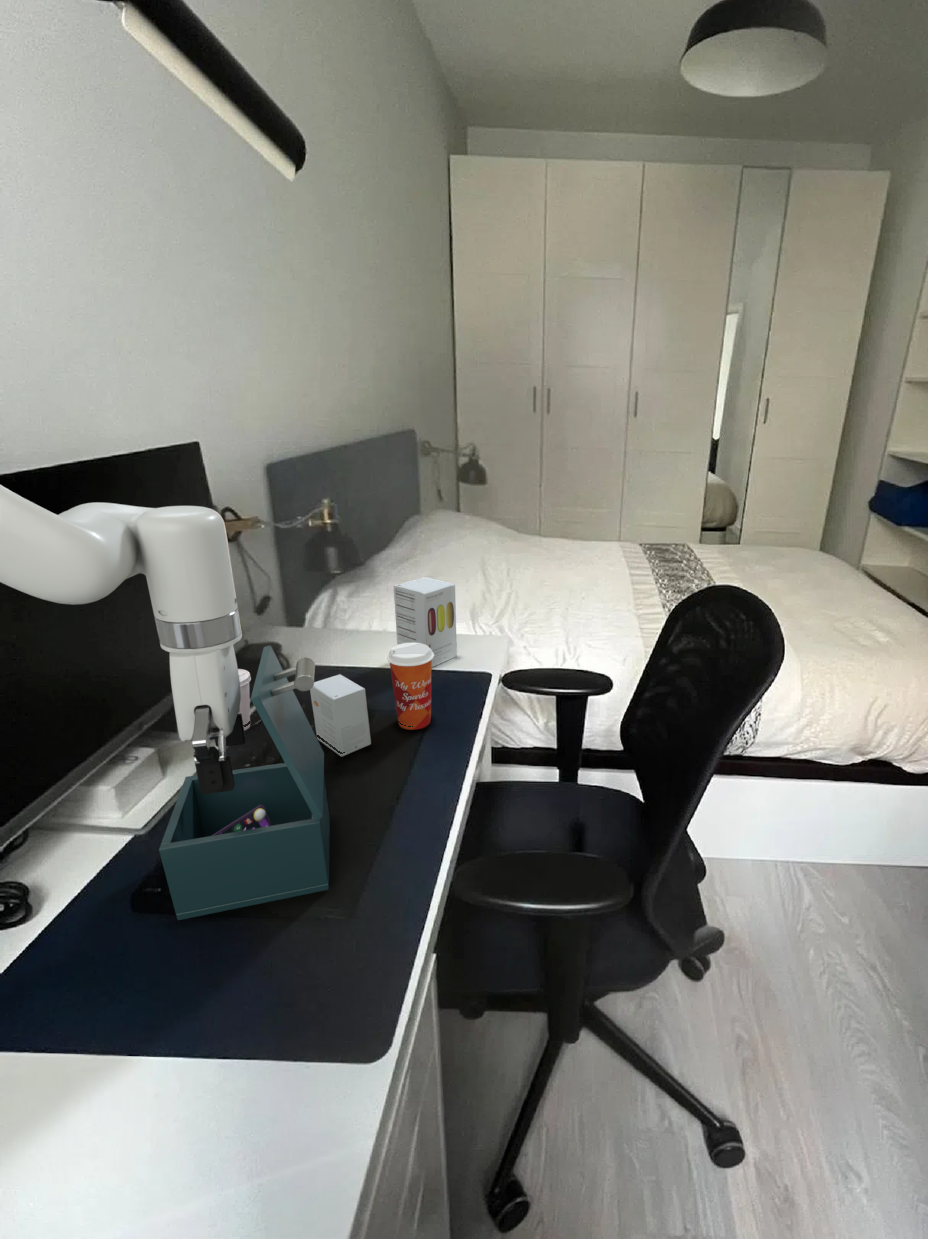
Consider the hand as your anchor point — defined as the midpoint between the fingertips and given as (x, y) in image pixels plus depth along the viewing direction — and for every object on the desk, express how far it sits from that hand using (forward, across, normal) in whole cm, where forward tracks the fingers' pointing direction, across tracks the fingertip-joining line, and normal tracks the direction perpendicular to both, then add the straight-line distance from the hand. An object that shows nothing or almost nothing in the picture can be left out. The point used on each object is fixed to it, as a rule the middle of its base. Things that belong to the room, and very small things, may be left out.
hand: (225, 766), depth 72 cm
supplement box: (+14, -59, +30) cm, 67 cm away
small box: (+15, -27, +12) cm, 33 cm away
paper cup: (+14, -31, +24) cm, 42 cm away
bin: (+15, 0, +2) cm, 15 cm away
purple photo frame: (+14, +1, 0) cm, 14 cm away
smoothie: (+15, -37, -5) cm, 40 cm away
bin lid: (-4, 0, +7) cm, 8 cm away
